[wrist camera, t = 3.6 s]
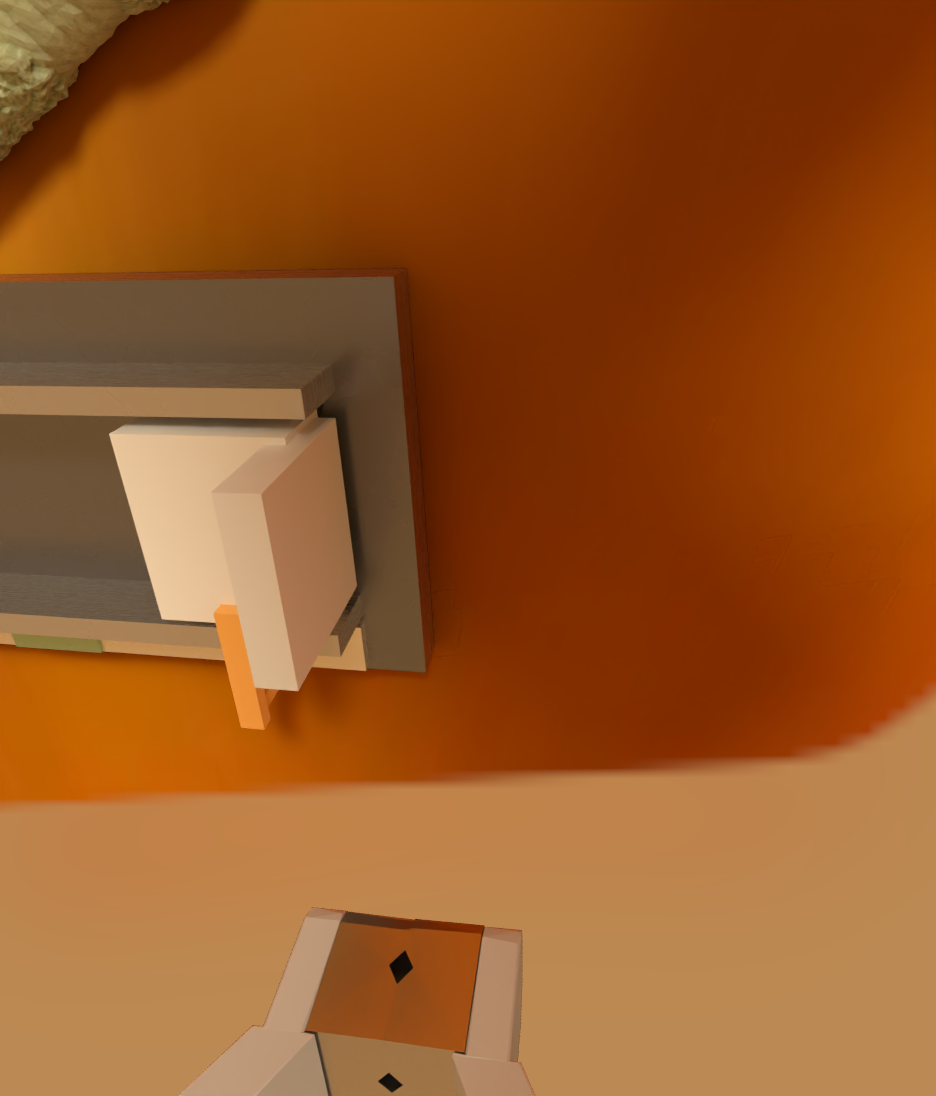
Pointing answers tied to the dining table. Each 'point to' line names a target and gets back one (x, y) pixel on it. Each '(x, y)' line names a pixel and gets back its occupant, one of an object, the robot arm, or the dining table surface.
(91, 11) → the washcloth
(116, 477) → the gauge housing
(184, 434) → the cream corner bracket
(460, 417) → the dining table surface
